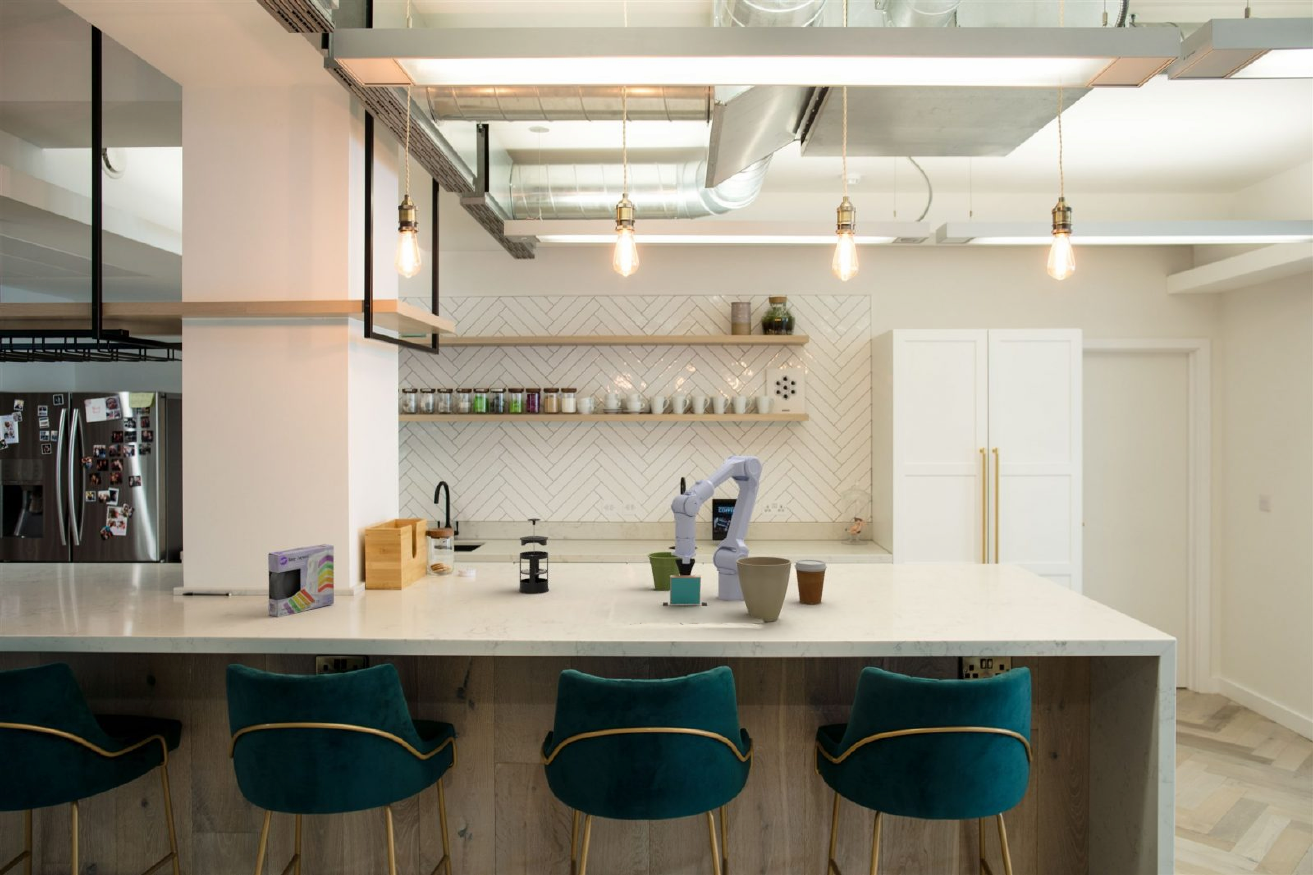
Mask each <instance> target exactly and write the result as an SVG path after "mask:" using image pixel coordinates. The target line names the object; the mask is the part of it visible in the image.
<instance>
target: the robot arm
mask: <svg viewBox="0 0 1313 875" xmlns="http://www.w3.org/2000/svg"><path fill="white" fill-rule="evenodd" d="M762 471H763V466H762V463H761V461H760V459H759V458H758V457H757V456H755V455H750V456H749V455H735V454H731V455H729V456H728V457H727V458H726V459H724V460H723V463H722V465H721V466H720V467H718V468H717V470H715V471H714V472H712V474H711V475H710V476H709V477H708V478H707V479H697V480H696V481H695V484H693V486H691V487H690V488H689V489H686V490H685V491H684V493H682V494H677V495H676V496H675V497H674V498H673V500H672V501H671V502H672V503H671V504H670V509H671V511H672V513H673V519H674V521H675V525H674V528H675V529H674V530H675V531H674V534H675V535H674V536H675V537H674V538H675V541H674V542H675V543H674V550H675V551H670V552H671V555H675V556H677V557H680V558H681V559H676V560H675V562H676V564H677V566H678V569H679V573H680V574H679V575H691V574H692V570H693V568H694V566H695V563H696V559H695V558H694V557H695V556H696V555H697V552H696V515H697V514H698V513H699V511H700V509H701V507H702V506H703V504H705V502H707V501H708V500H709V499H710V498H711V497H713V496H714V494H715V489H717V487H719V486H720V485H722V484H723V483H724V482H726V481H727V480H729V479H730V478H731V479H732V480H733V481H734V483H736V484H737V486H738V487H739V491H738V495H737V498H736V502H735V505H734V508H733V512H732V517H731V521H730V523H729V527H728V529H727V530H728V531H727V534H726V538H724V539H723V540H721V541H720V542H719V544H718V545H717V549H716V550H715V551H714V553H713V557H712V562H713V563H712V564H713V565H714V567H715V568H716V571H717V572H718V578H717V579H718V590H717V591H718V592H717V594H718V596H717V598H718V600H721V601H744V597H743V594H742V590H741V585H740V581H739V575H738V569H737V562H736V561H737V560H738V559H741V558H747V557H749V553H750V549H749V547H748V546H747V545H746V543H745V541H746V536H747V533H748V530H749V526H750V522H751V518H752V516H753V515H752V514H753V511H754V509H755V508H754V507H755V503H756V499H757V496H758V493H759V488H760V479H761V474H762Z"/></svg>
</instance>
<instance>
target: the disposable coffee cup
mask: <svg viewBox="0 0 1313 875" xmlns="http://www.w3.org/2000/svg"><path fill="white" fill-rule="evenodd" d="M794 568H795V571H796V572H795V573H796V579H797V580H796V581H797V588H798V589H797V590H798V596H799V597H798V598H799V602H800V603H801V604H806V605H819V604H821V603H822V598H823V597H822V596H823V590H824V583H825V582H824V581H825V576H826V575H825V574H826V571H827V570H826V569H827V568H828V566H827V565H826V562H825V561H823V560H818V559H800V560H796V561H795V564H794Z"/></svg>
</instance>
